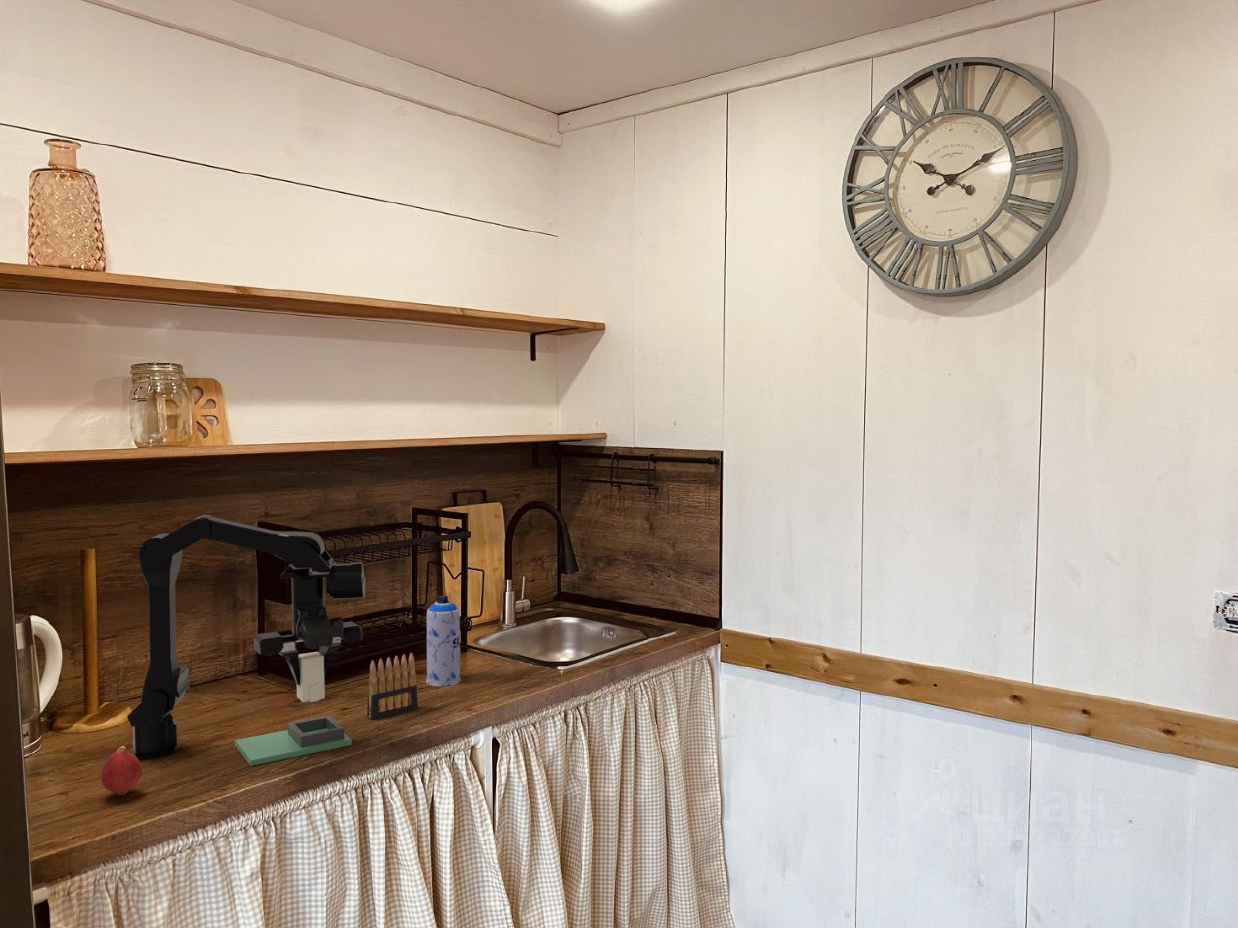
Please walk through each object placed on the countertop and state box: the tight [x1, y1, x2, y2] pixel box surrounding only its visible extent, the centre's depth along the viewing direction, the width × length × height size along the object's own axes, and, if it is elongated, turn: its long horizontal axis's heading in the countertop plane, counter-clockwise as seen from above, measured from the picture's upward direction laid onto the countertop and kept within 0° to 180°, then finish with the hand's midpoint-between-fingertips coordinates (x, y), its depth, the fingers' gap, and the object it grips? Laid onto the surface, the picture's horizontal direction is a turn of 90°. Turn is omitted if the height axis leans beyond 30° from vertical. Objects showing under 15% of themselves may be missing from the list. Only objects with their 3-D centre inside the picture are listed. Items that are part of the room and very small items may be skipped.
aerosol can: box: [425, 594, 462, 687], centre depth 208 cm, size 8×8×20 cm
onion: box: [100, 745, 143, 796], centre depth 145 cm, size 6×6×8 cm
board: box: [234, 715, 353, 767], centre depth 168 cm, size 18×12×3 cm, turn 125°
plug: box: [296, 651, 326, 703], centre depth 169 cm, size 4×7×8 cm, turn 35°
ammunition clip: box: [366, 652, 419, 721], centre depth 186 cm, size 11×2×12 cm, turn 132°
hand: (310, 682), depth 168 cm, fingers closed on plug, 4 cm apart
